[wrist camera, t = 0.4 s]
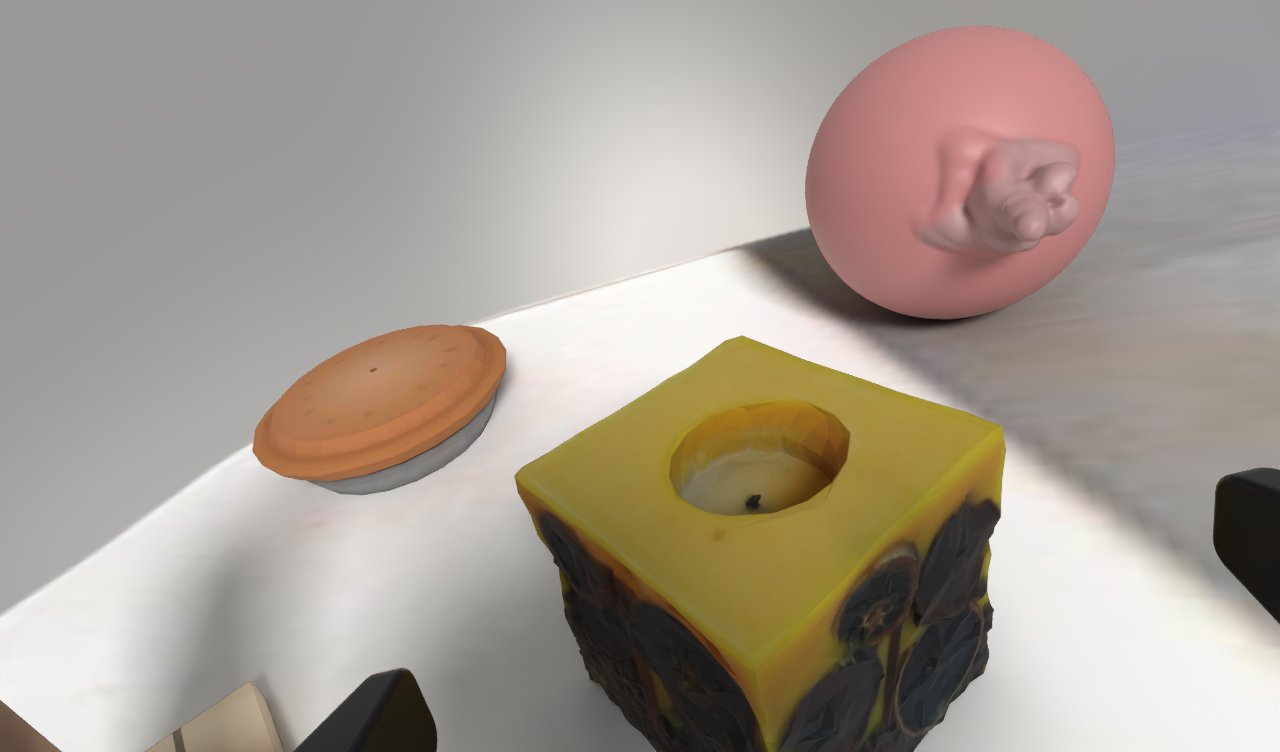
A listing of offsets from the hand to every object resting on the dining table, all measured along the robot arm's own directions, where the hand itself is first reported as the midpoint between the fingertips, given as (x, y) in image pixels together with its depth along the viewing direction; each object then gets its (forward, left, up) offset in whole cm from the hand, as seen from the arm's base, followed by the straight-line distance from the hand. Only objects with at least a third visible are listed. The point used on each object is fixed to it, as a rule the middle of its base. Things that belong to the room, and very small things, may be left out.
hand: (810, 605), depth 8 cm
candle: (+10, +1, -16) cm, 19 cm away
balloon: (+32, -11, -16) cm, 37 cm away
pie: (+28, +23, -16) cm, 40 cm away
